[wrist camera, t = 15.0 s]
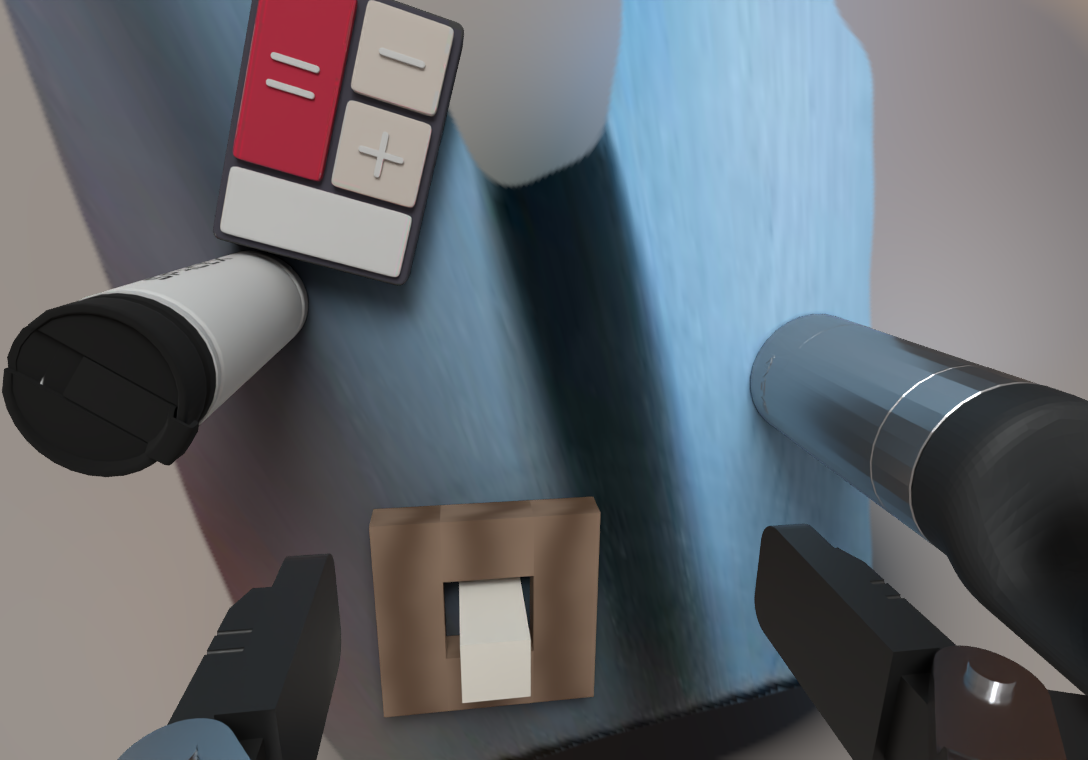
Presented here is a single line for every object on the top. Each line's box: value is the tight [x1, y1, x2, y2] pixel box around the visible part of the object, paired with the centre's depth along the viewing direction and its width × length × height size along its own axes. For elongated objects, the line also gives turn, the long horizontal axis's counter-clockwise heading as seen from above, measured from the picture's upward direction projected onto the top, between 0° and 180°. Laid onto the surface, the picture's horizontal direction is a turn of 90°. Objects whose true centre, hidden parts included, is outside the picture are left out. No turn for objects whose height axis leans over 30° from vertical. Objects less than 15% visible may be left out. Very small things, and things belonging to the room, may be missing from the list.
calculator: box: [213, 0, 464, 285], centre depth 37 cm, size 11×4×15 cm
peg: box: [459, 577, 531, 703], centre depth 45 cm, size 4×4×8 cm
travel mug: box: [2, 251, 308, 477], centre depth 31 cm, size 6×7×20 cm
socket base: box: [369, 497, 600, 717], centre depth 48 cm, size 16×16×2 cm
